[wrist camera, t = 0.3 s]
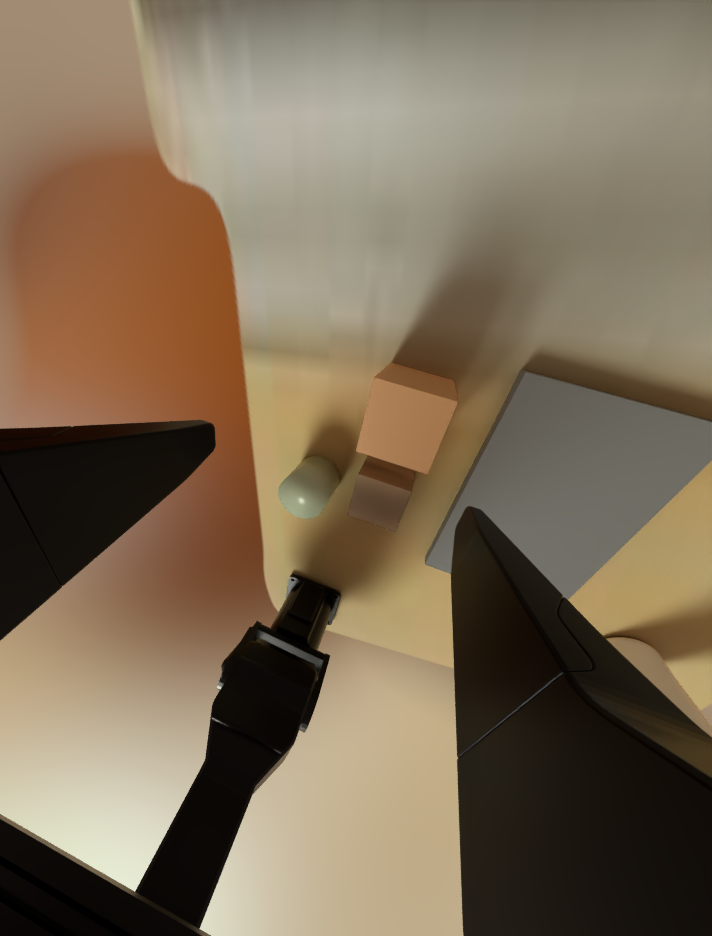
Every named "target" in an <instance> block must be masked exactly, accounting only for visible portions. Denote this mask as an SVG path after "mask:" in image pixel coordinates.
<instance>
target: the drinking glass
mask: <svg viewBox="0 0 712 936" xmlns="http://www.w3.org/2000/svg"><path fill="white" fill-rule="evenodd" d="M606 639H607V640H608V641H609V642H610V643H611V644H612V645H613V646H614V647H615V648H616V649H617V650H618V651H619V652H620V653H621V654H622V655H623V656H624V657H625V658H626V659H628V660H629V661H630V662H631V663H632V664H633V665H634V666H635V667H636V668H637V669H638V670H639V671H640V672H641V673H642V674H643V675H644V676H645V677H647V678H648V679H649V680H650V681H651V682H652V683H653V684H654V685H655V686H656V687H657V688H658V689H659V690H660V691H661V692H662V693H663V694H664V695H666V696H667V697H668V698H669V699H670V700H671V701H672V702H673V703H674V704H675V705H676V706H677V707H678V708H679V709H680V710H681V711H682V712H684V713H685V714H686V715H687V716H688V717H689V718H690V719H691V720H692V721H693V722H694V723H696V724H697V725H698V726H699V727H700V728H701V729H702V730H704V731H705V732H706V733H707V734H709V735H710V736H711V737H712V726H711V724H710V723H709V722H708V721H707V719H706V718H705V717H704V715H703V714H702V713H701V711H700V710H699V709H698V707H697V706H696V705H695V703H694V702H693V701H692V699H691V698H690V697H689V695H688V694H687V693H686V691H685V690H684V689H683V687H682V686H681V685H680V683H679V682H678V681H677V679H676V678H675V677H674V675H673V674H672V672H671V671H670V669H669V668H668V666H667V665H666V663H665V662H664V660H663V659H662V657H661V656H660V654H659V653H658V652H657V651H656V650H655V649H654V648H653V647H651V646H650V645H648V644H646V643H644V642H642V641H639V640H636V639H632V638H625V637H613V638H606Z"/></svg>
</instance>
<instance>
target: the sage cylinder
mask: <svg viewBox="0 0 712 936" xmlns="http://www.w3.org/2000/svg"><path fill="white" fill-rule="evenodd" d="M338 484H339V473H338V470H337V469H336V467H335V466H334V465H333V463H331V462H330V461H329V460H327V459H326V458H323V457H320V456H311V457H308V458H306V459H304V460H303V461H302V462H301V463H300V464H299V465H298V466H297V467H296V469H295V470H294V471H293V472H292V473H291V474H290V475H289V476H288V477H287V478H286V479H285V480H284V481H283V482H282V483H281V485H280V486H279V490H278V495H279V499H280V501H281V503H282V505H283V506H284V508H285V509H286V510H287V511H288V512H290V513H291V514H293V515H295V516H297V517H299V518H303V519H311V518H315V517H317V516H318V515H319V514H320V513H321V512H322V511H323V509H324V507H325V506H326V504H327V502H328V501H329V499H330V498H331V496H332V494H333V493H334V491H335V489H336V488H337V486H338Z"/></svg>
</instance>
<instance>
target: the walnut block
mask: <svg viewBox="0 0 712 936" xmlns="http://www.w3.org/2000/svg"><path fill="white" fill-rule="evenodd" d="M414 475H415V470H412V469H409V468H406V467H403V466H400V465H397V464H394V463H390V462H387V461H384V460H381V459H378V458H375V457H372V456H369V455H368V456H367V458H366V460H365V462H364V464H363V466H362V468H361V470H360V472H359V474H358V477H357V481H356V485H355V488H354V492H353V496H352V500H351V503H350V507H349V511H348V515H349V516H352V517H354V518H357V519H360V520H363V521H366V522H368V523H371V524H374V525H377V526H380V527H383V528H385V529H388V530H391V531H394V532H396V530H397V527H398V525H399V522H400V520H401V517H402V515H403V512H404V510H405V507H406V505H407V502H408V500H409V497H410V495H411V492H412V487H413V481H414Z"/></svg>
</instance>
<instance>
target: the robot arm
mask: <svg viewBox="0 0 712 936" xmlns="http://www.w3.org/2000/svg"><path fill="white" fill-rule="evenodd" d="M215 446H216V442H215V427H214V425H213V424H212V423H210V422H207V421H204V420H190V421H169V422H148V423H127V424H107V425H88V426H87V425H86V426H73V427H71V426H66V427H65V426H64V427H41V428H11V429H10V428H9V429H0V640H2V639H3V638H4V637H5V636H6V635H7V634H9V633H10V632H11V631H12V630H13V629H14V628H16V627H17V626H18V625H19V624H20V623H21V622H22V621H24V620H25V619H26V618H27V617H28V616H29V615H31V614H32V613H33V612H34V611H35V610H36V609H37V608H39V607H40V606H41V605H42V604H43V603H44V602H46V601H47V600H48V599H49V598H50V597H51V596H53V595H54V594H55V593H56V592H57V591H58V590H59V589H61V587H62V586H63V585H65V584H66V583H67V582H68V581H69V580H71V579H72V578H73V577H74V576H75V575H76V574H78V573H79V572H80V571H81V570H82V569H83V568H84V567H86V566H87V565H88V564H89V563H90V562H91V561H93V560H94V559H95V558H96V557H97V556H98V555H100V553H102V552H103V551H104V550H105V549H107V548H108V547H109V546H110V545H111V544H112V543H114V542H115V541H116V540H117V539H118V538H119V537H120V536H122V535H123V534H124V533H125V532H126V531H127V530H129V529H130V528H131V527H132V526H133V525H134V524H136V523H137V522H138V521H139V520H140V519H141V518H142V517H144V516H145V515H146V514H147V513H148V512H149V511H151V510H152V509H153V508H154V507H155V506H156V505H158V504H159V503H160V502H161V501H162V500H163V499H164V498H166V497H167V496H168V495H169V494H170V493H171V492H172V491H174V490H175V489H176V488H177V487H178V486H180V485H181V484H182V483H183V482H184V481H185V480H186V479H187V478H188V477H189V476H190V475H191V474H192V473H193V472H194V471H195V470H196V469H197V468H198V467H199V466H200V465H201V463H202V462H203V461H204V460H205V459H206V458H207V457H208V456H209V455H210V454H211V453H212V452H213V451H214V448H215ZM451 593H452V622H453V650H454V678H455V703H456V704H455V707H456V734H457V757H458V759H457V769H458V799H459V828H460V857H461V886H462V914H463V935H464V936H712V737H711V736H710V735H709V734H707V733H706V732H705V731H704V730H702V729H701V728H700V727H699V726H698V725H697V724H696V723H694V722H693V721H692V720H691V719H690V718H689V717H688V716H687V715H686V714H685V713H684V712H682V711H681V710H680V709H679V708H678V707H677V706H676V705H675V704H674V703H673V702H672V701H671V700H670V699H669V698H668V697H667V696H666V695H664V694H663V693H662V692H661V691H660V690H659V689H658V688H657V687H656V686H655V685H654V684H653V683H652V682H651V681H650V680H649V679H648V678H647V677H645V676H644V675H643V674H642V673H641V672H640V671H639V670H638V669H637V668H636V667H635V666H634V665H633V664H632V663H631V662H630V661H629V660H628V659H626V658H625V657H624V656H623V655H622V654H621V653H620V652H619V651H618V650H617V649H616V648H615V647H614V646H613V645H612V644H611V643H610V642H609V641H608V640H607V639H606V638H605V637H604V636H603V635H601V634H600V633H599V632H598V631H597V630H596V629H595V628H594V627H593V626H592V625H591V624H590V623H589V622H588V621H587V619H586V618H585V617H584V616H583V615H582V614H581V613H580V612H579V611H578V610H577V609H576V608H575V607H574V606H573V605H572V604H571V603H570V602H569V601H568V600H567V599H566V598H565V597H563V595H562V594H561V593H560V592H559V590H558V589H557V588H556V587H555V586H554V585H553V584H552V583H551V582H550V581H549V580H548V579H547V578H546V577H545V576H544V575H543V574H542V573H541V572H540V571H539V570H538V568H537V567H536V566H535V565H534V564H533V563H532V562H531V561H530V560H529V559H528V558H527V557H526V556H525V555H524V554H523V553H522V552H521V551H520V550H519V549H518V548H517V546H516V545H515V544H514V543H513V542H512V541H511V540H510V539H509V538H508V537H507V536H506V535H505V534H504V533H503V532H502V531H501V530H500V529H499V528H498V527H497V526H496V524H495V523H494V522H493V521H492V520H491V519H490V518H489V517H488V516H487V515H486V514H485V513H484V512H483V511H482V510H481V509H478V508H475V507H472V506H467V507H466V508H465V510H464V512H463V514H462V516H461V518H460V520H459V521H458V523H457V525H456V528H455V534H454V545H453V555H452V566H451ZM562 597H563V598H562ZM339 599H340V593H339V592H337V591H335V590H332V589H330V588H327V587H325V586H322V585H320V584H317V583H314V582H312V581H309V580H307V579H304V578H302V577H299V576H297V575H294V574H292V575H290V577H289V581H288V588H287V595H286V600H285V602H284V604H283V606H282V607H281V609H280V611H279V613H278V615H277V617H276V618H275V620H274V622H273V624H272V626H271V628H269V627H267V626H264V625H262V623H260V622H258V621H257V622H256V623H255V625H254V626H253V627H250V628H249V629H248V631H247V632H246V634H245V636H244V637H243V639H242V640H241V642H240V643H239V644H238V645H237V646H236V648H235V649H234V650H233V651H232V652H231V653H230V654H229V656H228V657H227V658H226V659H225V660H224V662H223V664H222V666H221V668H222V674H221V678H220V681H219V683H218V687H217V689H218V690H220V691H219V693H218V695H217V696H216V698H215V700H214V702H213V705H212V712H211V720H210V727H209V735H208V742H207V750H206V759H205V761H204V763H203V765H202V767H201V769H200V771H199V773H198V775H197V777H196V779H195V781H194V782H193V784H192V786H191V788H190V790H189V792H188V794H187V796H186V797H185V799H184V801H183V803H182V805H181V807H180V809H179V810H178V812H177V814H176V816H175V818H174V820H173V822H172V824H171V825H170V827H169V830H168V831H167V833H166V835H165V837H164V839H163V840H162V842H161V844H160V846H159V848H158V850H157V852H156V854H155V855H154V857H153V859H152V861H151V863H150V865H149V867H148V869H147V870H146V872H145V874H144V876H143V878H142V880H141V882H140V884H139V885H138V887H137V889H136V891H135V892H134V891H132V890H131V889H129V888H127V887H126V886H124V885H122V884H120V883H119V882H117V881H115V880H114V879H112V878H110V877H108V876H107V875H105V874H103V873H101V872H100V871H98V870H96V869H94V868H93V867H91V866H89V865H88V864H86V863H84V862H82V861H81V860H79V859H77V858H75V857H74V856H72V855H70V854H68V853H67V852H65V851H63V850H61V849H60V848H58V847H56V846H55V845H53V844H51V843H49V842H48V841H46V840H44V839H42V838H41V837H39V836H37V835H35V834H34V833H32V832H30V831H29V830H27V829H25V828H23V827H22V826H20V825H18V824H16V823H15V822H13V821H11V820H10V819H7V818H6V817H4V816H3V815H1V814H0V936H211V935H209V934H207V933H205V932H204V931H202V930H200V929H199V928H200V926H201V923H202V921H203V918H204V916H205V913H206V911H207V908H208V906H209V903H210V900H211V898H212V895H213V893H214V890H215V888H216V885H217V883H218V880H219V877H220V875H221V873H222V870H223V867H224V865H225V862H226V860H227V857H228V855H229V852H230V850H231V847H232V845H233V842H234V839H235V837H236V835H237V832H238V829H239V827H240V824H241V822H242V819H243V816H244V814H245V812H246V809H247V807H248V804H249V802H250V799H251V796H252V794H253V793H254V792H255V791H256V790H257V789H258V788H259V787H260V786H261V785H262V784H263V783H264V782H265V781H266V780H267V779H268V777H269V776H270V775H271V774H272V773H273V772H274V771H275V770H276V769H277V768H278V767H279V766H280V765H281V763H282V762H283V761H284V760H285V758H286V756H287V754H288V753H289V751H290V749H291V748H292V746H293V744H294V742H295V740H296V737H297V734H298V731H299V730H300V731H303V732H305V731H306V729H307V727H308V725H309V722H310V720H311V717H312V714H313V712H314V709H315V706H316V703H317V700H318V697H319V693H320V690H321V686H322V683H323V679H324V676H325V672H326V669H327V665H328V662H329V658H330V655H328V654H324V653H322V652H320V651H318V648H319V645H320V642H321V639H322V637H323V634H324V631H325V629H326V626H327V625H331V624H332V621H333V618H334V615H335V611H336V608H337V605H338V602H339Z"/></svg>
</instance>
